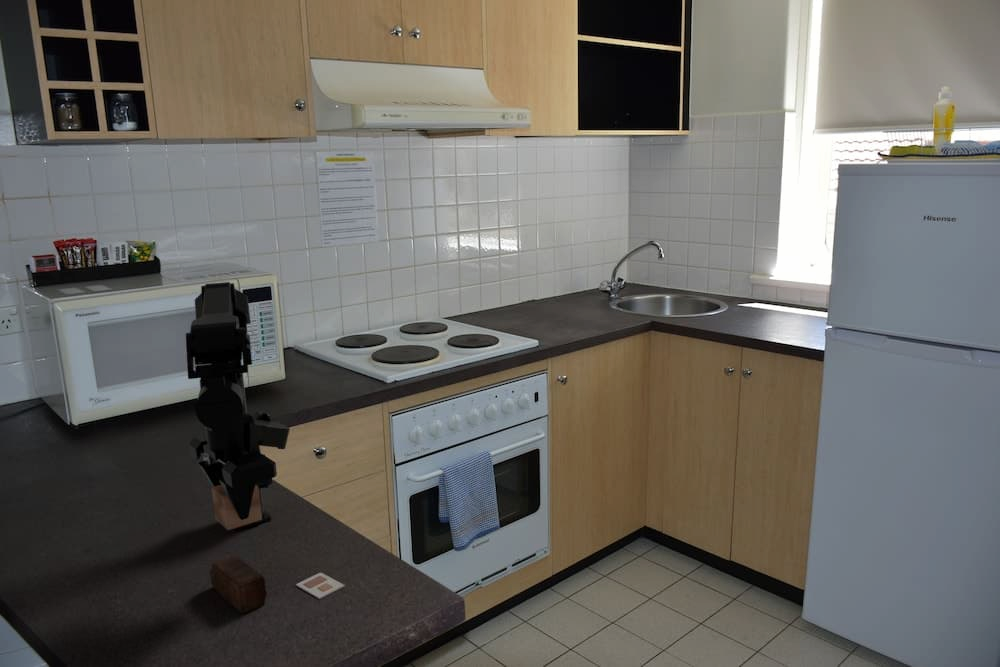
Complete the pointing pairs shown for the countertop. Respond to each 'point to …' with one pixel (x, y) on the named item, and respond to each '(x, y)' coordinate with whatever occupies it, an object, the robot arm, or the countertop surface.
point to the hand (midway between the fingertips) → (237, 513)
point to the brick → (238, 583)
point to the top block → (227, 512)
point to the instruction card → (320, 585)
